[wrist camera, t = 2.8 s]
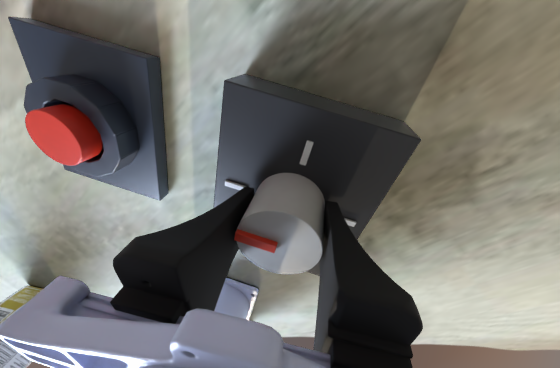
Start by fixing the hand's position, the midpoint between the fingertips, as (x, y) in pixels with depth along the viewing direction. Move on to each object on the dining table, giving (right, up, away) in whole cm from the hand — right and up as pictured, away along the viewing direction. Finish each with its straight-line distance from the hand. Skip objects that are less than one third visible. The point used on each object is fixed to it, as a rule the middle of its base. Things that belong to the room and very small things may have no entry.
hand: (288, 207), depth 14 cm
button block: (-14, +6, +3) cm, 15 cm away
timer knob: (0, 0, 0) cm, 0 cm away
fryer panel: (+1, +2, +3) cm, 3 cm away
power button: (-14, +5, +1) cm, 15 cm away
